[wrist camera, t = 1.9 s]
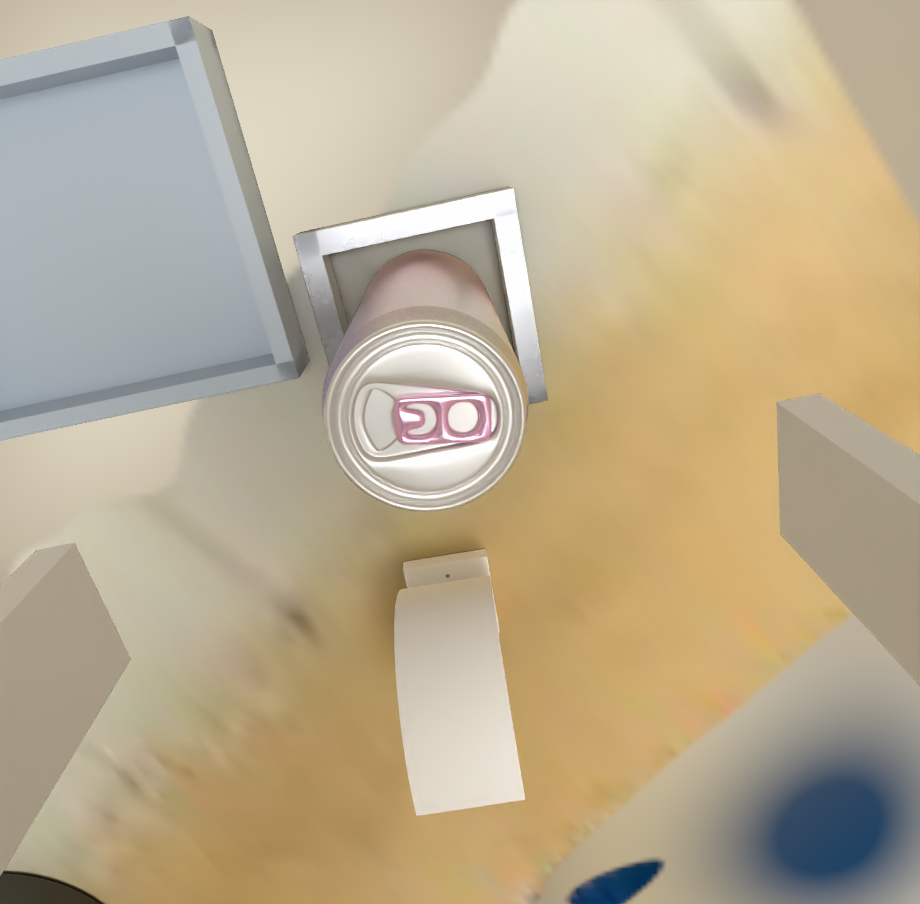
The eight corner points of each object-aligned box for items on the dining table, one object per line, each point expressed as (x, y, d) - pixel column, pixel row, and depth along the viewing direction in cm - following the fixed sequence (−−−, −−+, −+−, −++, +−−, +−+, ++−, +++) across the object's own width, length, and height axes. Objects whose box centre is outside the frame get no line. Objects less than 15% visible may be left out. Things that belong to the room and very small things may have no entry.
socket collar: (354, 426, 35) (350, 441, 33) (300, 232, 32) (292, 236, 30) (541, 387, 35) (548, 400, 33) (508, 186, 31) (513, 188, 29)
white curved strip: (419, 635, 40) (415, 816, 29) (399, 545, 38) (387, 703, 27) (499, 623, 40) (525, 800, 29) (484, 531, 38) (506, 685, 27)
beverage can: (490, 372, 34) (533, 513, 21) (368, 377, 34) (328, 523, 20) (488, 245, 32) (535, 309, 18) (357, 250, 32) (304, 319, 18)
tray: (-9, 427, 34) (-47, 450, 32) (-162, 116, 29) (-225, 111, 26) (309, 360, 34) (298, 377, 31) (212, 30, 28) (188, 16, 26)
